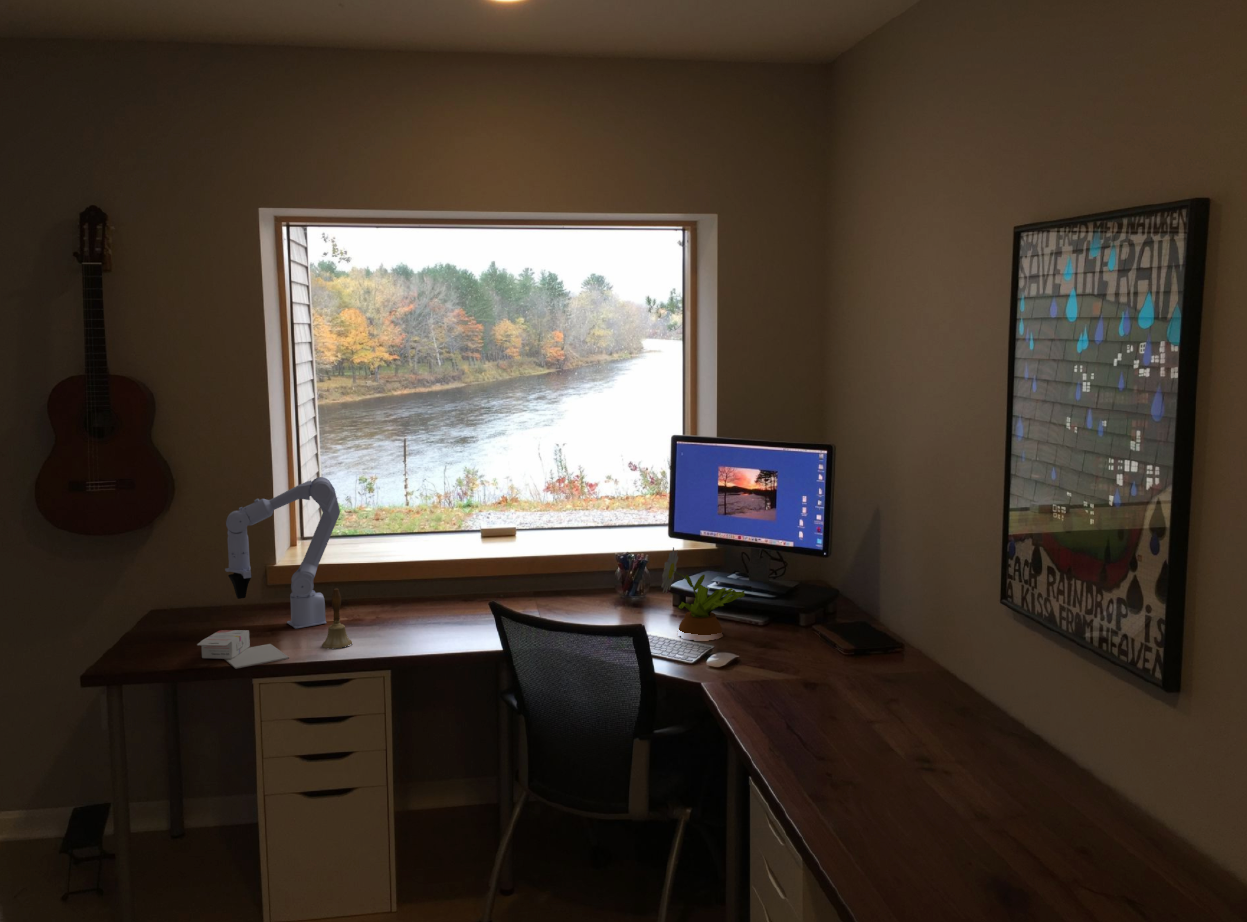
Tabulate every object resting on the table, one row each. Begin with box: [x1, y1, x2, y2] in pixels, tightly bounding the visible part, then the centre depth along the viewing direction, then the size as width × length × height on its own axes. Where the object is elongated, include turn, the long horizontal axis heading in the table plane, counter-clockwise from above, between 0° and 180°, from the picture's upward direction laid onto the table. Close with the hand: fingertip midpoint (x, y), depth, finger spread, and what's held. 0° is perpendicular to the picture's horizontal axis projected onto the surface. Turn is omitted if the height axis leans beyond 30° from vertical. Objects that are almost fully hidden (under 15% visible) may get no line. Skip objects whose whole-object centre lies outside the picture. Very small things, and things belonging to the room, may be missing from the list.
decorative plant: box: [660, 547, 746, 635], centre depth 298 cm, size 27×24×25 cm
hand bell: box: [321, 588, 353, 650], centre depth 292 cm, size 8×8×16 cm
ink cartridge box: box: [196, 629, 251, 660], centre depth 283 cm, size 9×5×15 cm
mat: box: [224, 643, 290, 670], centre depth 283 cm, size 14×15×1 cm
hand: (241, 597), depth 308 cm, fingers closed
